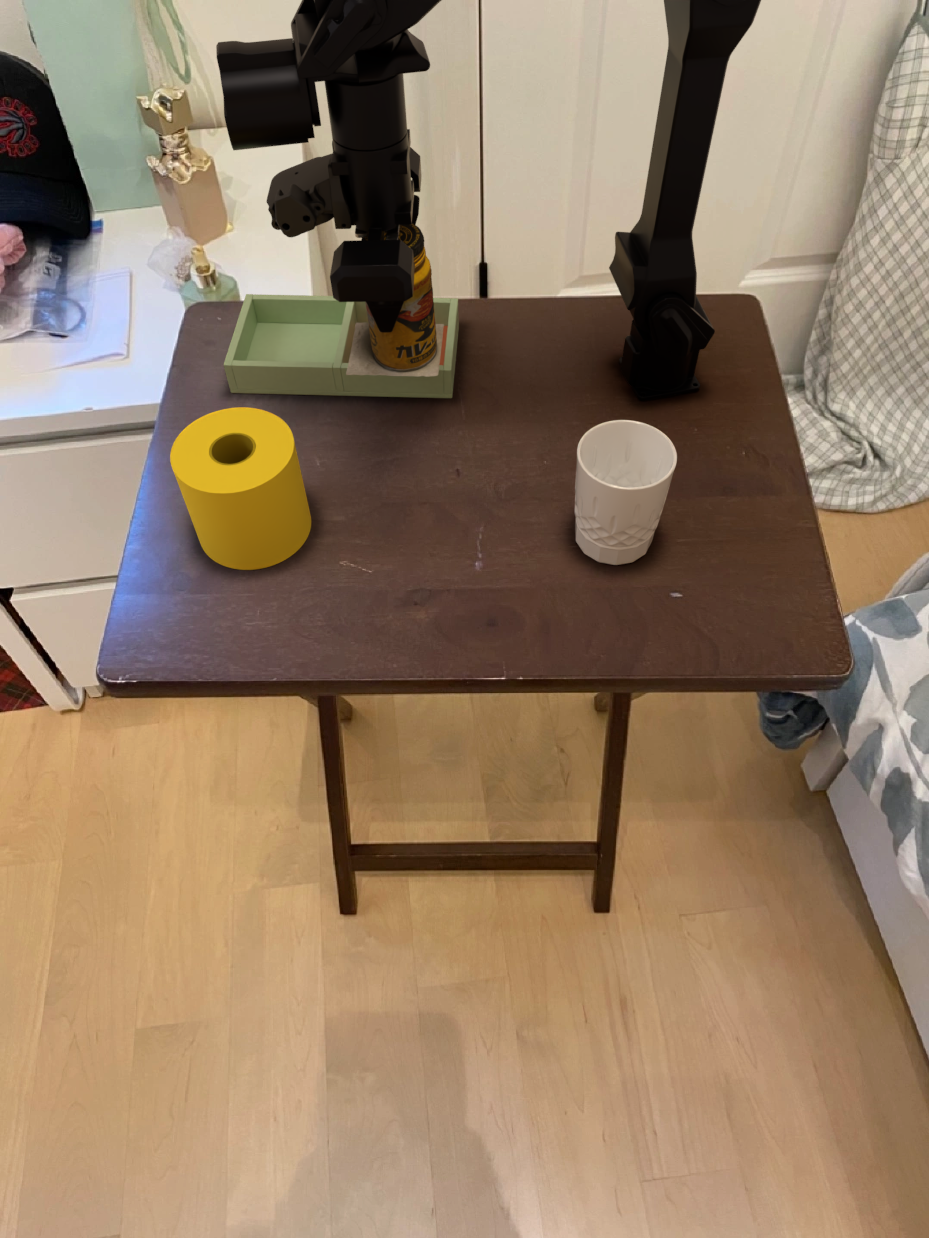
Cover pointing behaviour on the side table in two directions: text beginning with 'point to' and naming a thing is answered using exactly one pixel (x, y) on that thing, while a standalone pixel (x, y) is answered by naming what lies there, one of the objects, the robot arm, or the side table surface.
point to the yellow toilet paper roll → (242, 487)
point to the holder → (322, 350)
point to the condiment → (402, 327)
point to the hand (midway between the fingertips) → (388, 309)
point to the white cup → (621, 489)
